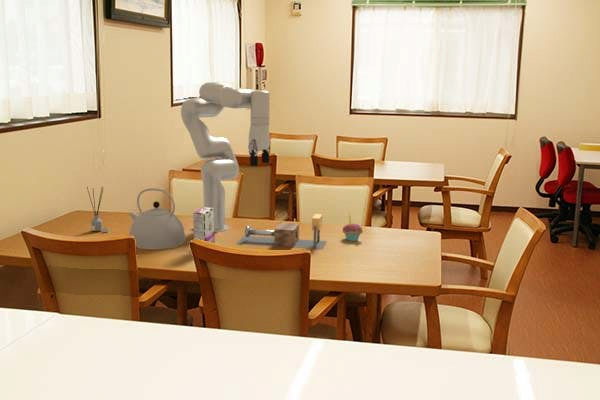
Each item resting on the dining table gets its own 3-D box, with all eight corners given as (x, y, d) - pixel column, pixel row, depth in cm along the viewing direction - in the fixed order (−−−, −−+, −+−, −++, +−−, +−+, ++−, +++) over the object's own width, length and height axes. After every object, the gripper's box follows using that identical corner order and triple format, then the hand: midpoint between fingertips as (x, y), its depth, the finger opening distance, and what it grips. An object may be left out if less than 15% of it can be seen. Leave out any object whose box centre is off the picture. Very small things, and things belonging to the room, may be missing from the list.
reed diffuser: (84, 231, 285) (82, 186, 281) (94, 227, 291) (92, 183, 287) (104, 233, 282) (103, 188, 278) (114, 230, 288) (112, 185, 284)
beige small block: (311, 230, 264) (312, 218, 263) (314, 225, 271) (315, 213, 270) (319, 230, 263) (319, 218, 262) (321, 226, 271) (322, 214, 270)
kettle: (112, 244, 265) (110, 190, 261) (145, 232, 286) (144, 181, 281) (165, 252, 256) (164, 195, 252) (195, 238, 277) (194, 186, 272)
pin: (245, 238, 271) (245, 227, 270) (247, 235, 275) (247, 224, 275) (280, 240, 268) (281, 229, 268) (283, 237, 273) (283, 227, 272)
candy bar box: (203, 246, 265) (202, 206, 262) (214, 247, 264) (214, 207, 261) (193, 253, 254) (192, 212, 251) (205, 254, 253) (205, 213, 250)
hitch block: (274, 245, 266) (274, 224, 264) (280, 238, 277) (280, 217, 275) (315, 248, 263) (316, 226, 261) (319, 241, 274) (320, 220, 273)
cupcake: (348, 243, 273) (349, 215, 271) (338, 238, 281) (339, 211, 279) (366, 241, 277) (367, 214, 275) (355, 237, 285) (356, 210, 282)
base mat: (235, 245, 268) (235, 243, 268) (243, 237, 280) (243, 235, 280) (322, 250, 262) (322, 249, 262) (326, 242, 274) (327, 241, 274)
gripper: (261, 120, 270) (261, 161, 273) (240, 122, 254) (241, 166, 258) (278, 120, 267) (277, 162, 270) (257, 123, 251) (257, 167, 255)
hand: (259, 164), depth 264 cm, fingers open, 9 cm apart
